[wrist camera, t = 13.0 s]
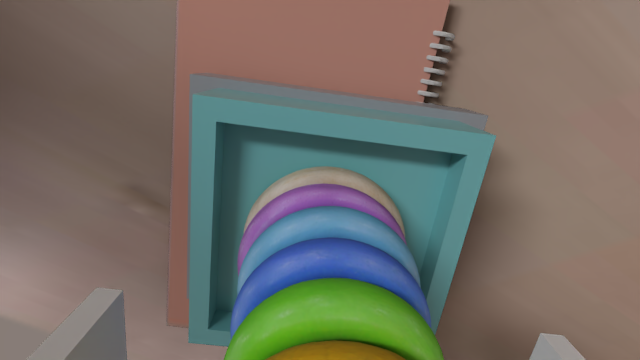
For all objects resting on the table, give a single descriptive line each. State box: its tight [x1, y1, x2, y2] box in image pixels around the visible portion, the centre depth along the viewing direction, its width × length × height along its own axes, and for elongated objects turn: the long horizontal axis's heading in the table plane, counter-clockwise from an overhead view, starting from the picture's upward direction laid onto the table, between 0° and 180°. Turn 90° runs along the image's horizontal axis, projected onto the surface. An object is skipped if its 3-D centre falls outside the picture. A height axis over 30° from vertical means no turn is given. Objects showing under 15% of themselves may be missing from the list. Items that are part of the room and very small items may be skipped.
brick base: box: [187, 73, 496, 347], centre depth 20 cm, size 16×14×7 cm
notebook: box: [167, 0, 455, 328], centre depth 24 cm, size 27×17×2 cm, turn 170°
